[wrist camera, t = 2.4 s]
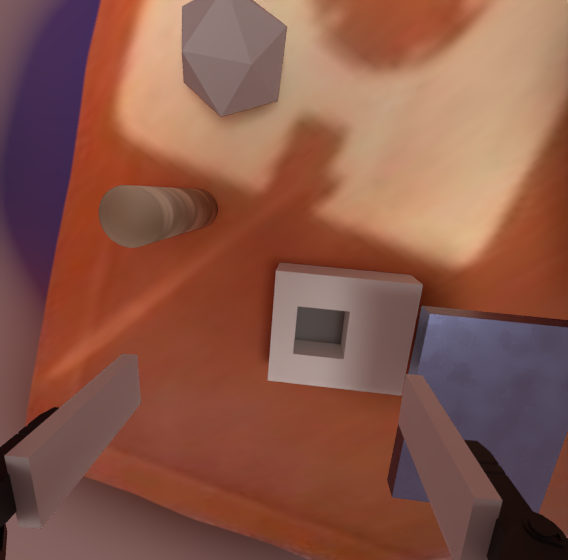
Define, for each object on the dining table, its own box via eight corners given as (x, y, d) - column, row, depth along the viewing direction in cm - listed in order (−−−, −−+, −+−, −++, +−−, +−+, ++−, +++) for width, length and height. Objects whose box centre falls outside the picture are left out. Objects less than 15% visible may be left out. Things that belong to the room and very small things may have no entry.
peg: (180, 187, 35) (96, 182, 21) (218, 190, 34) (157, 187, 21) (180, 225, 36) (100, 244, 22) (217, 228, 35) (158, 250, 22)
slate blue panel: (378, 262, 35) (429, 313, 20) (475, 271, 34) (603, 331, 19) (360, 379, 38) (391, 497, 24) (448, 389, 38) (537, 516, 23)
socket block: (279, 262, 36) (275, 270, 32) (410, 274, 35) (423, 284, 31) (271, 361, 39) (267, 380, 35) (392, 375, 38) (401, 395, 34)
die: (300, 111, 32) (314, -10, 23) (228, 157, 30) (212, 42, 21) (244, 64, 35) (237, -64, 25) (172, 103, 32) (135, -24, 23)
